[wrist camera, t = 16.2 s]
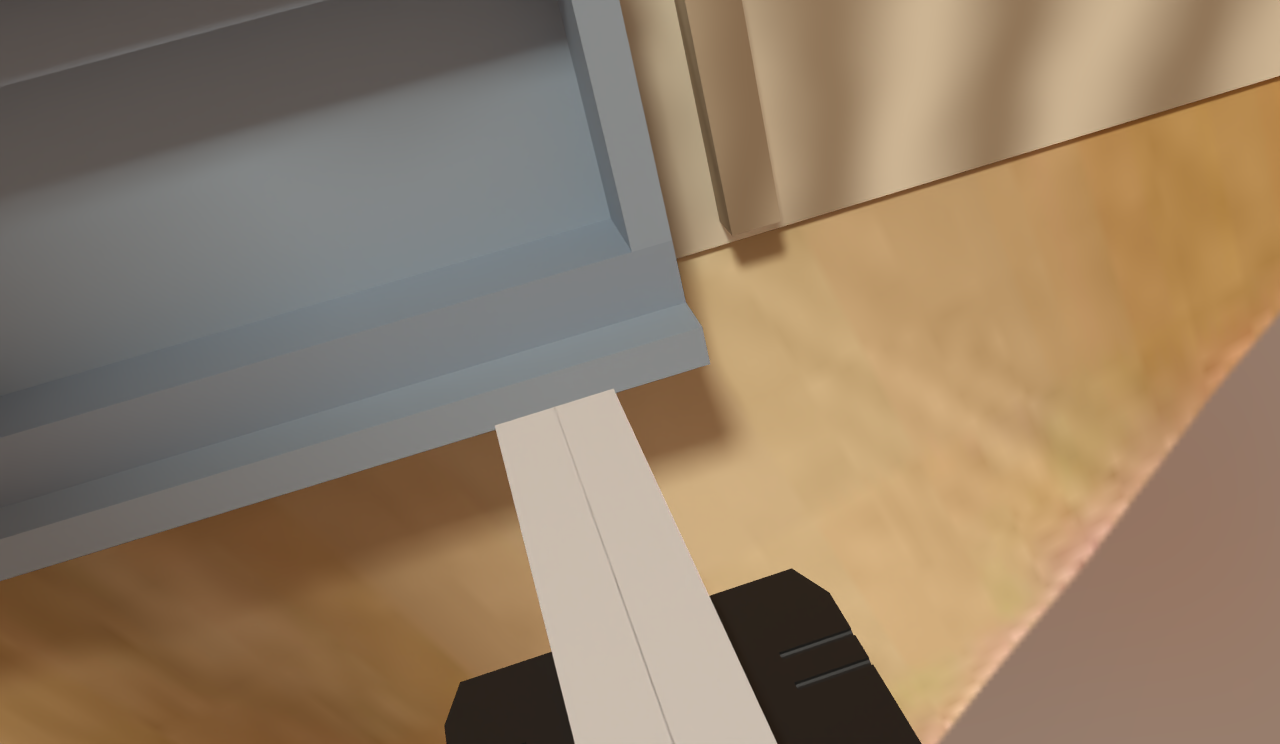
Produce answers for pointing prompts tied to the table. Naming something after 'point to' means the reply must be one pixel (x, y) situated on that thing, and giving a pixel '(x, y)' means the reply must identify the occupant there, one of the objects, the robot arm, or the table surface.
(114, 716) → the table surface
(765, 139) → the lid
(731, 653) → the robot arm
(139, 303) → the pencil box
